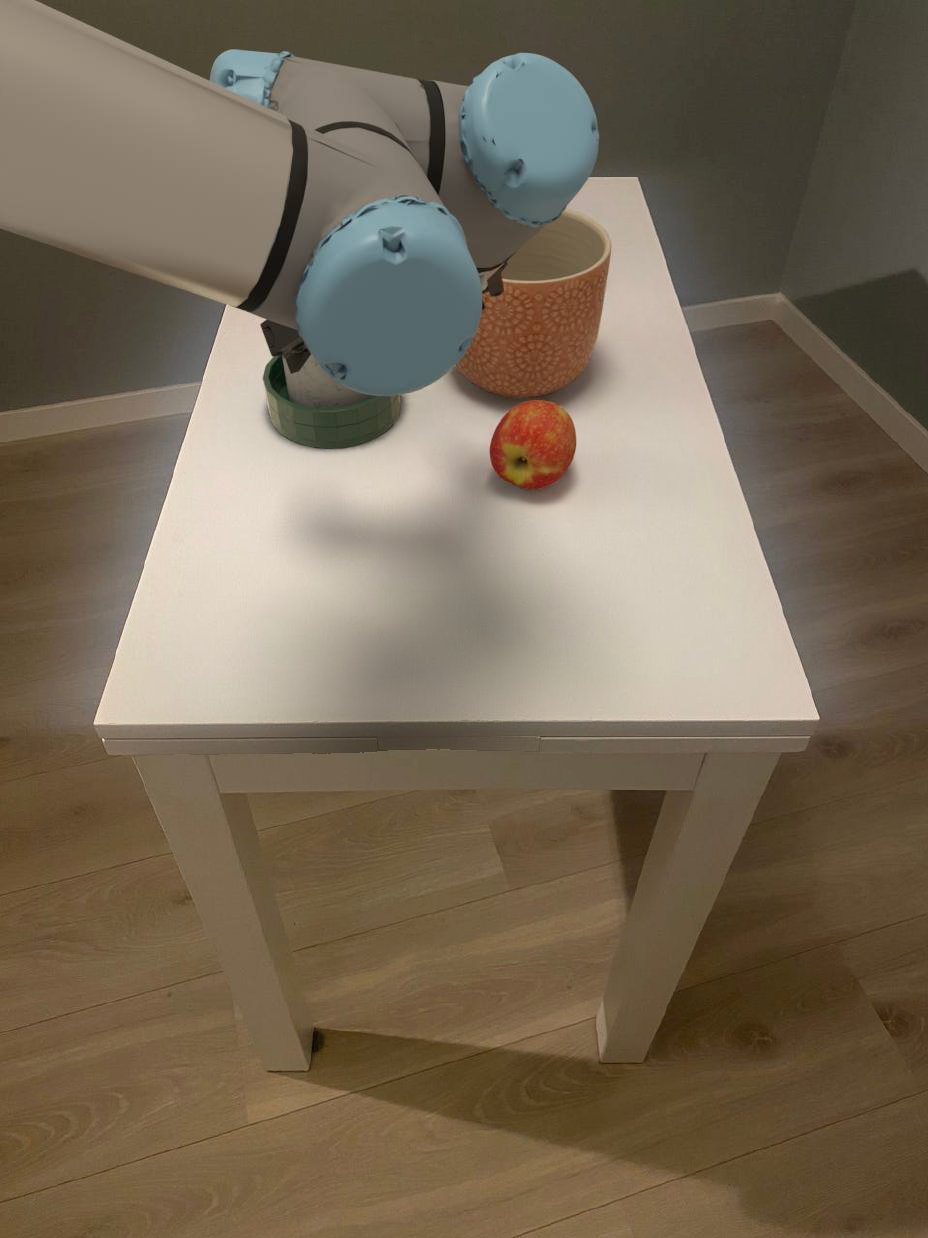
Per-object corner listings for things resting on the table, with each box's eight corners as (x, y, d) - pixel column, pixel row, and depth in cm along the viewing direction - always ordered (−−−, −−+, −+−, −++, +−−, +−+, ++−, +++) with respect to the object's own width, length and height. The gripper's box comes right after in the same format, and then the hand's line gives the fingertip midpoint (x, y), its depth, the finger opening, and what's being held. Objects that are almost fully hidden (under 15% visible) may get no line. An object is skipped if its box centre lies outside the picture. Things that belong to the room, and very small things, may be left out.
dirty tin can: (337, 440, 94) (324, 331, 85) (270, 406, 98) (250, 298, 89) (398, 397, 99) (392, 289, 90) (332, 366, 103) (320, 259, 94)
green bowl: (310, 465, 93) (305, 428, 89) (247, 399, 100) (239, 362, 97) (425, 417, 98) (424, 380, 95) (357, 357, 106) (353, 321, 102)
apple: (478, 490, 90) (479, 422, 84) (510, 441, 95) (514, 374, 89) (555, 513, 88) (562, 444, 82) (584, 462, 93) (593, 394, 87)
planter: (578, 327, 110) (591, 197, 99) (610, 412, 99) (629, 277, 88) (435, 336, 109) (432, 205, 97) (450, 423, 97) (449, 287, 86)
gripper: (284, 344, 57) (240, 418, 77) (619, 254, 65) (501, 342, 85) (240, 223, 56) (207, 330, 76) (585, 147, 64) (474, 262, 84)
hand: (362, 336), depth 81 cm, fingers open, 13 cm apart
